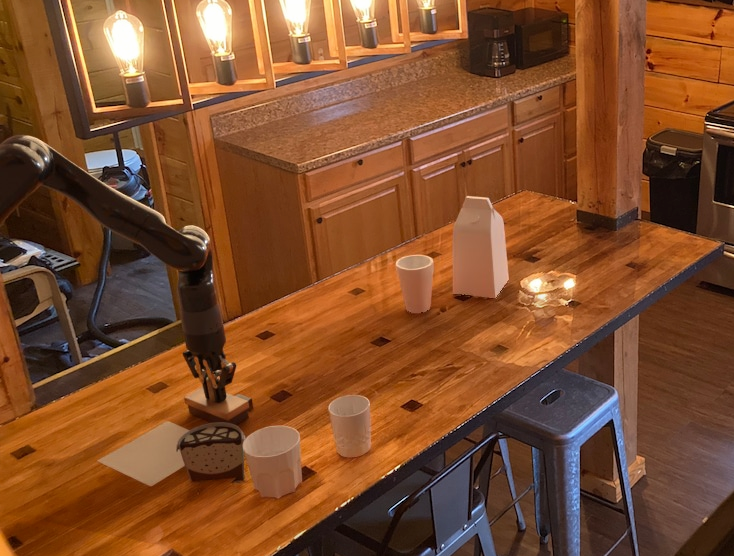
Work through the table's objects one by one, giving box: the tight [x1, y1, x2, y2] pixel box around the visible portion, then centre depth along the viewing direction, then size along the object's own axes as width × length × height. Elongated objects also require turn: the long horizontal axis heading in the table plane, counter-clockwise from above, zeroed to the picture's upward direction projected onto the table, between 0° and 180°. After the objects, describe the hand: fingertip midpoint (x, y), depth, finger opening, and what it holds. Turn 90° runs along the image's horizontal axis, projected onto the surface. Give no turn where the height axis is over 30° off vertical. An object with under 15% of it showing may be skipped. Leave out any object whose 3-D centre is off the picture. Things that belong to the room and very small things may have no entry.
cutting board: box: [96, 420, 191, 487], centre depth 186 cm, size 16×16×1 cm
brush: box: [183, 376, 250, 426], centre depth 196 cm, size 13×6×9 cm, turn 61°
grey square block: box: [235, 393, 254, 412], centre depth 201 cm, size 4×4×2 cm
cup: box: [242, 425, 303, 500], centre depth 176 cm, size 10×10×10 cm
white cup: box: [327, 394, 372, 459], centre depth 187 cm, size 8×8×10 cm
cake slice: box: [176, 422, 247, 484], centre depth 179 cm, size 12×6×10 cm, turn 100°
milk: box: [452, 195, 510, 299], centre depth 252 cm, size 12×12×26 cm
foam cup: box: [395, 254, 435, 314], centre depth 244 cm, size 10×9×13 cm
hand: (216, 398), depth 196 cm, fingers closed on brush, 2 cm apart
